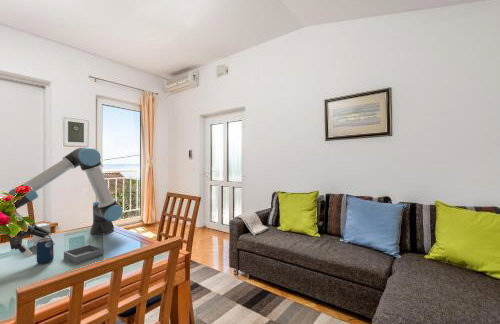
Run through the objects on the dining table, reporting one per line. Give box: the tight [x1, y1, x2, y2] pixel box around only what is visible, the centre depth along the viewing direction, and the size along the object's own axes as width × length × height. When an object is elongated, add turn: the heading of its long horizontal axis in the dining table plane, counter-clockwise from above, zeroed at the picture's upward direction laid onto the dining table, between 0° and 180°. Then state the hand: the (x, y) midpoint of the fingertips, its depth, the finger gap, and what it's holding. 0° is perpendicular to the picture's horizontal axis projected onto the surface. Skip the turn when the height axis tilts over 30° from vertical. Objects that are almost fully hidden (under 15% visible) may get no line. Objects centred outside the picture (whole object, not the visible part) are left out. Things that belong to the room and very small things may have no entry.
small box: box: [32, 222, 52, 247], centre depth 153 cm, size 8×6×13 cm
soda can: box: [35, 237, 55, 265], centre depth 129 cm, size 7×7×12 cm
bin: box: [63, 243, 104, 265], centre depth 136 cm, size 14×14×4 cm
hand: (42, 250), depth 129 cm, fingers open, 13 cm apart
